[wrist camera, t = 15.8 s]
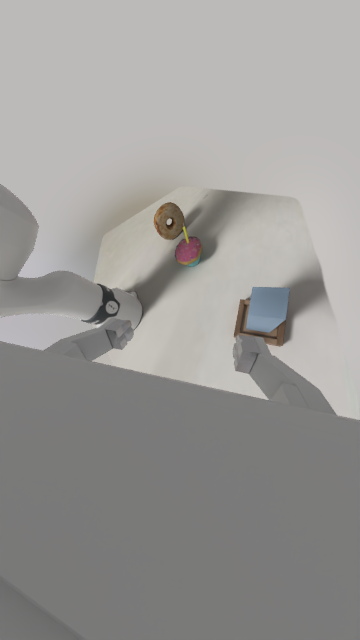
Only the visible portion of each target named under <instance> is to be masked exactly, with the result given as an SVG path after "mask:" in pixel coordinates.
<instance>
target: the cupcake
mask: <svg viewBox="0 0 360 640" xmlns="http://www.w3.org/2000/svg"><path fill="white" fill-rule="evenodd" d="M183 226H184V223H183ZM183 230H184V234H185V237H186V239H183V240H182V241H181V242H180V243H179V245H178V246H177V248H176V250H175V257H176V260H177V261H178V262H179V263H180V264H184V265H188V266H190V267H192V266H195V265H197V264H198V262H199V261H200V254H201V252H202V244H201V242H200V240H199V239H198V238H197V237H189V238H188V235H187V231H186V228H185V226H184V227H183Z"/></svg>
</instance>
